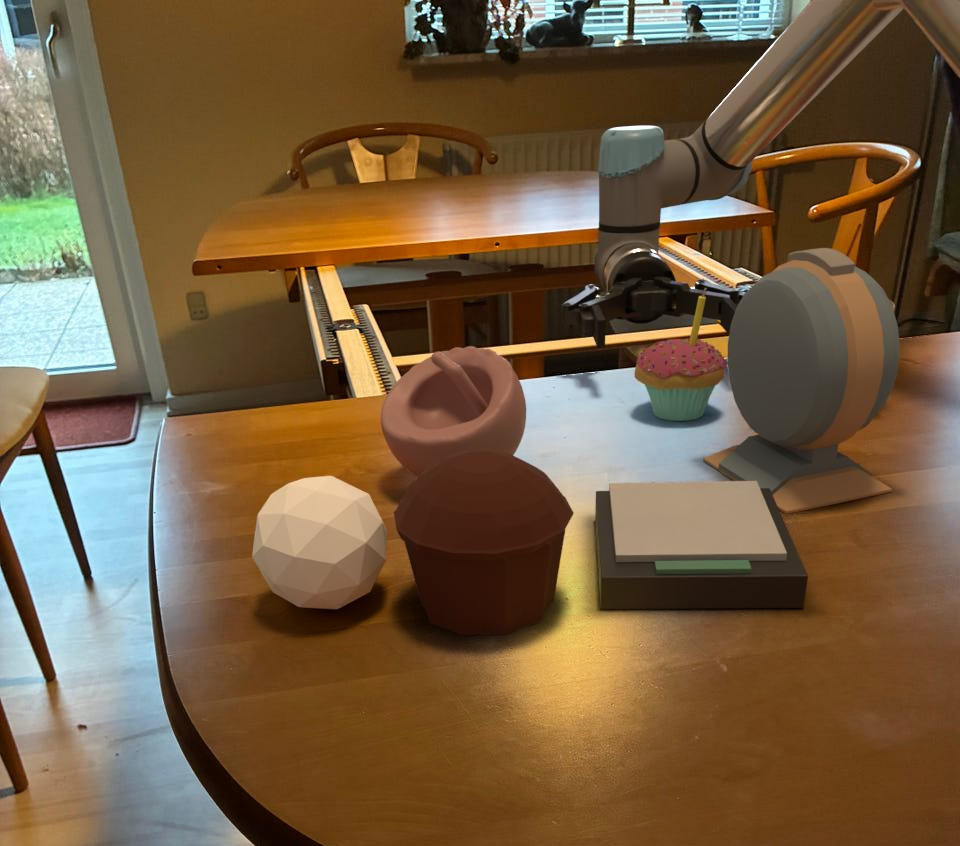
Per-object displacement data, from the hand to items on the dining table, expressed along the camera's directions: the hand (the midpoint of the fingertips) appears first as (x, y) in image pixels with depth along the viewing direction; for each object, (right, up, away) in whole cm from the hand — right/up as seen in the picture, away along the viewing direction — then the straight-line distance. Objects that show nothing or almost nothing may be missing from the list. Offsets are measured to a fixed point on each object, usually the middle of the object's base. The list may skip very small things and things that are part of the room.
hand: (670, 330), depth 97 cm
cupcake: (0, -9, -1) cm, 9 cm away
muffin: (-18, -28, -31) cm, 46 cm away
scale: (-4, -25, -27) cm, 37 cm away
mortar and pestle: (-21, -17, -13) cm, 30 cm away
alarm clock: (+7, -17, -16) cm, 24 cm away
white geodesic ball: (-29, -27, -28) cm, 49 cm away
